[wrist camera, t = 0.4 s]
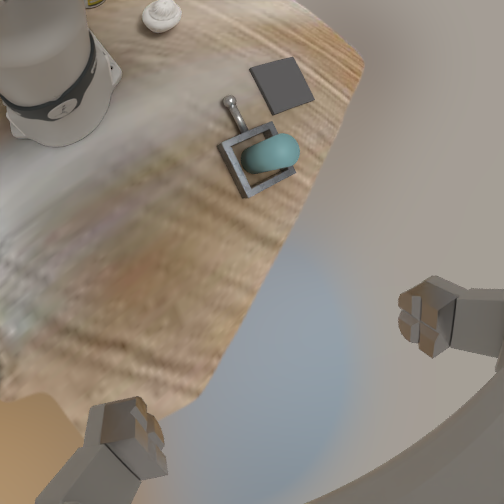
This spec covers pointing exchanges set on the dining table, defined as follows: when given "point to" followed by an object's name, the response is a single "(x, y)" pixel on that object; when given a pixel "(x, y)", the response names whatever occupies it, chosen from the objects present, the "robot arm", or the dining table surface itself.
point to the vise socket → (232, 161)
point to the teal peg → (271, 154)
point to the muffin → (161, 15)
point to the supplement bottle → (92, 3)
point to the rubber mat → (282, 85)
